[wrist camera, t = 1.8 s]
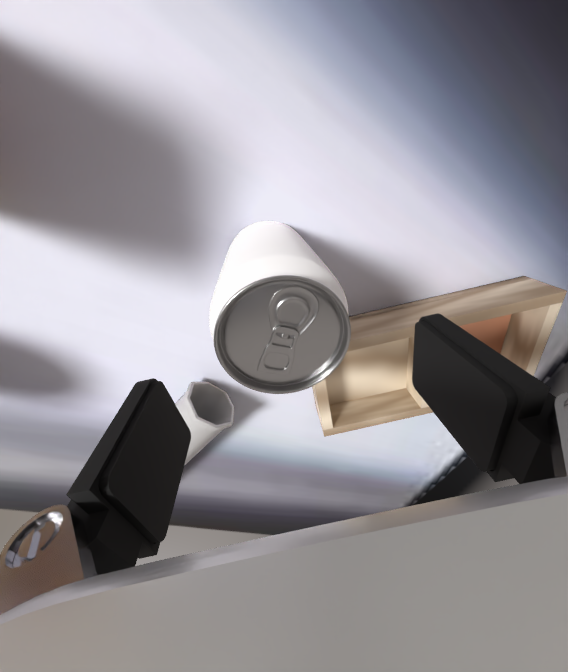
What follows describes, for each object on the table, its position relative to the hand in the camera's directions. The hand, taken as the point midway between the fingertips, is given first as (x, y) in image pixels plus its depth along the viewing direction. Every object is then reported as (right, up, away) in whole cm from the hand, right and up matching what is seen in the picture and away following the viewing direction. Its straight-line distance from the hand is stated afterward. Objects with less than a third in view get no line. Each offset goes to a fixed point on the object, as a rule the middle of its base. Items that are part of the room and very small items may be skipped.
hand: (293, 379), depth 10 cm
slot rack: (+13, 0, +17) cm, 21 cm away
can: (-2, +8, +11) cm, 14 cm away
